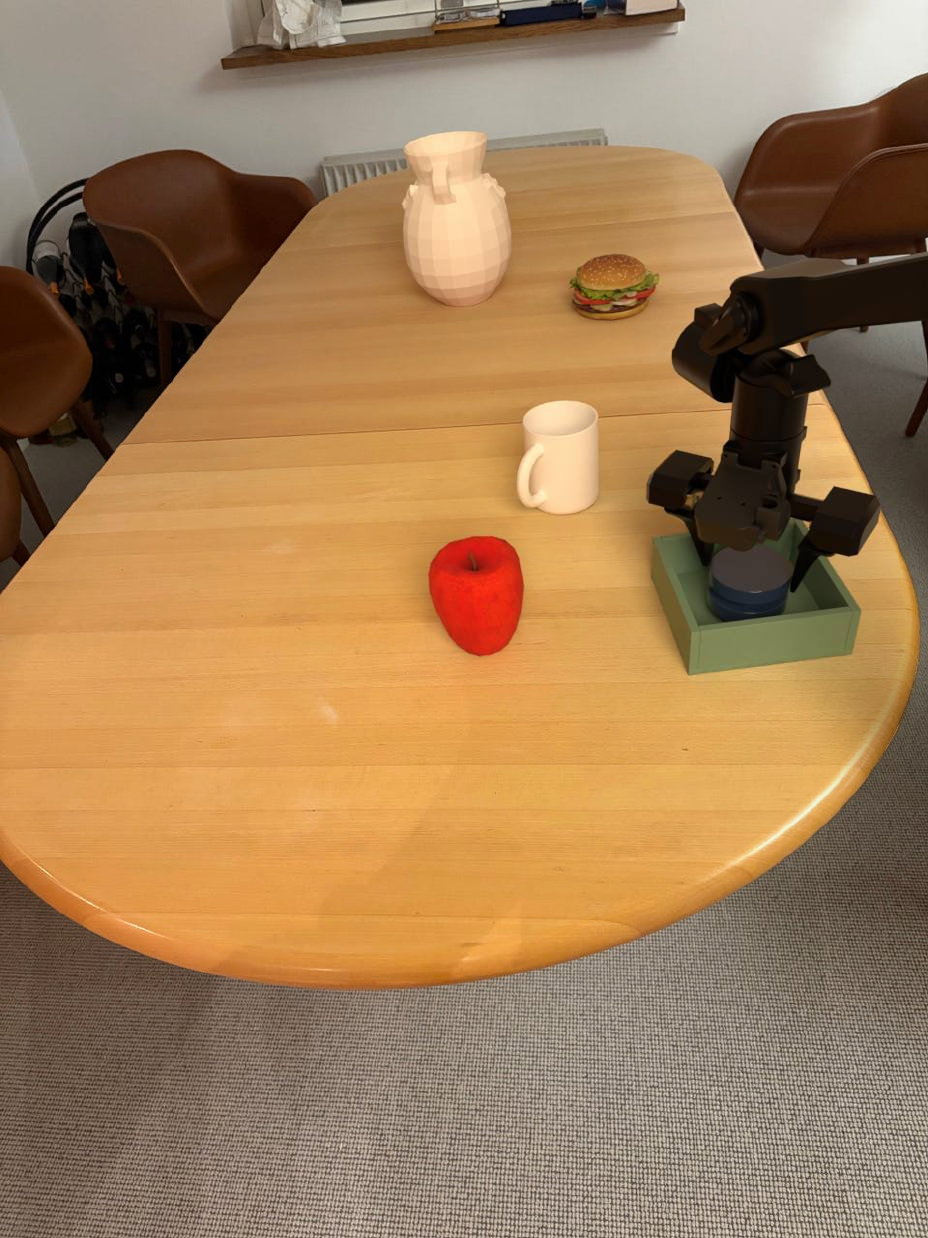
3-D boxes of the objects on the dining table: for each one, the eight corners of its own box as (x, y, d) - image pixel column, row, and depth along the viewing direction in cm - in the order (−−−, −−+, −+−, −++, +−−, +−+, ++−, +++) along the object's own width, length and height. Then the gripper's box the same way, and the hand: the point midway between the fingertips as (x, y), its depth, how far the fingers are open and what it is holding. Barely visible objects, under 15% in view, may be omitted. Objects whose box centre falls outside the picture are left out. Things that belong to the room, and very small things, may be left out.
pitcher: (426, 279, 165) (404, 131, 149) (523, 274, 161) (512, 121, 145) (401, 319, 151) (374, 160, 135) (506, 315, 147) (492, 151, 131)
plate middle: (773, 560, 85) (776, 539, 83) (800, 607, 79) (804, 586, 78) (699, 570, 85) (700, 549, 83) (720, 618, 79) (722, 596, 78)
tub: (794, 558, 90) (800, 516, 86) (852, 654, 78) (862, 610, 75) (651, 577, 90) (652, 536, 87) (688, 675, 79) (691, 633, 75)
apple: (478, 600, 90) (466, 512, 83) (547, 630, 86) (541, 539, 79) (421, 650, 85) (403, 561, 79) (492, 684, 81) (479, 592, 74)
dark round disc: (770, 580, 86) (773, 560, 85) (796, 628, 81) (800, 607, 79) (697, 590, 87) (698, 570, 85) (718, 638, 81) (720, 617, 79)
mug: (550, 541, 97) (545, 459, 90) (494, 518, 101) (484, 439, 95) (614, 490, 103) (613, 410, 96) (557, 471, 108) (553, 393, 101)
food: (671, 312, 140) (673, 261, 135) (587, 330, 139) (586, 279, 134) (638, 285, 151) (639, 236, 146) (560, 301, 149) (558, 252, 144)
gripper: (615, 446, 71) (616, 595, 81) (851, 502, 62) (819, 663, 72) (677, 388, 78) (671, 533, 88) (899, 430, 68) (864, 588, 78)
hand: (749, 576), depth 81 cm, fingers open, 8 cm apart
